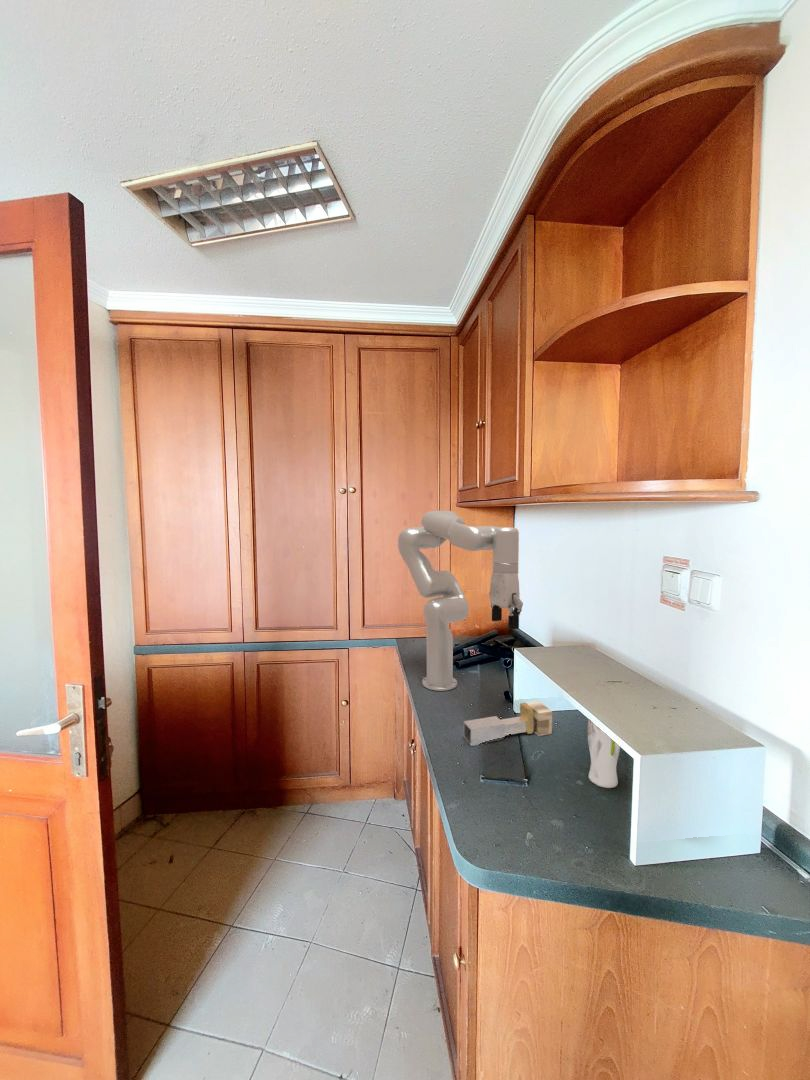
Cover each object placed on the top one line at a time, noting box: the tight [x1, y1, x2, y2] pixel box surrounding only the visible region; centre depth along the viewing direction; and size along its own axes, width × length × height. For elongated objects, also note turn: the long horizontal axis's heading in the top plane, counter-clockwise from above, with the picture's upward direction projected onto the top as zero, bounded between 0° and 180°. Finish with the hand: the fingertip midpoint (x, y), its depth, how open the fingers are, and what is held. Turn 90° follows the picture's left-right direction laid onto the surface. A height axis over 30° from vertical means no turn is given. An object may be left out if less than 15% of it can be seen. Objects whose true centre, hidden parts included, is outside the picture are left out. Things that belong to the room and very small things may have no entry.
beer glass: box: [587, 718, 621, 789], centre depth 95 cm, size 7×7×15 cm
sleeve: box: [463, 715, 506, 747], centre depth 113 cm, size 5×10×5 cm, turn 107°
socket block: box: [525, 700, 553, 737], centre depth 118 cm, size 6×4×6 cm
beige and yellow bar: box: [500, 702, 537, 736], centre depth 116 cm, size 4×16×7 cm, turn 107°
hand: (504, 624), depth 125 cm, fingers open, 9 cm apart
